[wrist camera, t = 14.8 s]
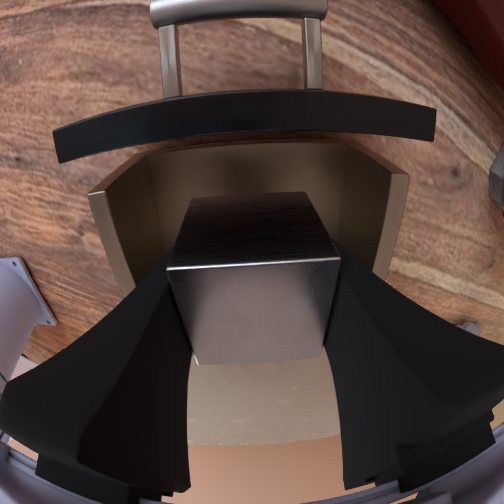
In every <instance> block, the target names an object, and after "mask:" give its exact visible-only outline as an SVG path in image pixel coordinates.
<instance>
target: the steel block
mask: <svg viewBox="0 0 504 504" xmlns="http://www.w3.org/2000/svg"><path fill="white" fill-rule="evenodd" d="M340 261H341V257H340V255H339V253H338V251H337V249H336V247H335V245H334V243H333V241H332V239H331V237H330V235H329V233H328V232H327V230H326V228H325V226H324V224H323V222H322V220H321V218H320V217H319V215H318V213H317V211H316V209H315V208H314V206H313V204H312V202H311V200H310V199H309V197H308V195H307V193H306V192H277V193H257V194H240V195H225V196H212V197H201V198H192V199H191V200H190V203H189V205H188V208H187V211H186V213H185V216H184V219H183V221H182V224H181V227H180V230H179V232H178V235H177V238H176V241H175V244H174V247H173V249H172V252H171V255H170V258H169V261H168V264H167V267H166V271H167V274H168V278H169V281H170V285H171V288H172V291H173V295H174V298H175V301H176V304H177V307H178V310H179V313H180V316H181V319H182V322H183V325H184V328H185V331H186V334H187V337H188V340H189V343H190V346H191V348H192V351H193V354H194V356H195V359H196V362H197V364H198V365H225V364H249V363H265V362H278V361H289V360H299V359H307V358H316V357H320V355H321V351H322V347H323V343H324V339H325V335H326V331H327V326H328V322H329V317H330V313H331V308H332V304H333V299H334V294H335V289H336V284H337V278H338V273H339V267H340Z"/></svg>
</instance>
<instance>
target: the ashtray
mask: <svg viewBox="0 0 504 504" xmlns="http://www.w3.org/2000/svg"><path fill="white" fill-rule="evenodd" d="M433 1H434V2H435V3H436V4H437V5H438V6H439V7H440V8H441V9H442V10H443V11H444V12H445V13H446V14H447V15H448V16H449V17H450V19H451V20H452V21H453V22H454V23H455V25H456V26H457V27H458V28H459V30H460V31H461V32H462V34H463V35H464V36H465V38H466V39H467V41H468V42H469V44H470V45H471V47H472V48H473V50H474V52H475V53H476V55H477V57H478V58H479V60H480V62H481V63H482V64H483V66H484V67H485V69H486V70H487V72H488V73H489V74H490V75H491V76H492V78H493V79H494V80H495V81H496V82H497V83H498V85H499V86H500V87H502V88H503V89H504V0H433Z"/></svg>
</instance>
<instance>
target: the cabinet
mask: <svg viewBox="0 0 504 504" xmlns="http://www.w3.org/2000/svg"><path fill="white" fill-rule="evenodd" d="M339 432H340V421H339V414H338V406H337V399H336V393H335V387H334V381H333V376H332V371H331V367H330V363H329V360H328V357H327V354H326V350H325V347H324V344H323V347H322V351H321V355H320V357H316V358H307V359H299V360H289V361H278V362H265V363H249V364H225V365H198V364H197V362H196V359H195V356H194V354H193V353H192V359H191V365H190V371H189V380H188V399H187V440H188V444H189V445H202V446H250V445H267V444H279V443H289V442H298V441H305V440H312V439H319V438H324V437H330V436H335V435H338V433H339Z"/></svg>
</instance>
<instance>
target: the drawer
mask: <svg viewBox="0 0 504 504" xmlns="http://www.w3.org/2000/svg"><path fill="white" fill-rule="evenodd" d="M327 11H328V0H151V2H150V6H149V14H150V20H151V23H152V25H153V27H154V28H155V29H156V30H159V47H160V62H161V74H162V86H163V96H164V99H161V100H155V101H150V102H145V103H141V104H136V105H132V106H127V107H123V108H119V109H116V110H112V111H109V112H105V113H102V114H98V115H95V116H92V117H89V118H86V119H83V120H80V121H77V122H74V123H71V124H69V125H66V126H63V127H61V128H58V129H56V130H53V132H52V133H53V138H54V143H55V148H56V153H57V157H58V161H59V163H60V164H61V163H65V162H68V161H72V160H75V159H79V158H83V157H87V156H91V155H95V154H99V153H103V152H107V151H112V150H116V149H121V148H126V147H131V146H136V145H142V144H147V143H153V142H159V141H166V140H173V139H180V138H188V137H196V136H205V135H216V134H227V133H242V132H261V131H330V132H349V133H363V134H375V135H384V136H393V137H401V138H409V139H415V140H422V141H428V142H433V141H434V134H435V124H436V113H437V110H436V109H435V108H431V107H427V106H423V105H419V104H415V103H410V102H406V101H401V100H396V99H391V98H386V97H380V96H374V95H367V94H360V93H351V92H342V91H330V90H323V64H322V39H321V21H323V20H324V19H325V17H326V15H327ZM240 18H291V19H303V20H302V21H301V28H302V48H303V75H304V89H246V90H230V91H218V92H209V93H200V94H192V95H185V96H183V92H182V80H181V67H180V53H179V37H178V27H177V26H179V25H185V24H191V23H198V22H206V21H214V20H225V19H240ZM409 179H410V175H409V174H408V173H406V172H405V171H403V170H402V169H400V168H399V167H397V166H396V165H394V164H393V163H391V162H390V161H388V160H386V159H385V158H383V157H382V156H380V155H378V154H377V153H375V152H373V151H372V150H370V149H368V148H367V147H365V146H363V145H362V144H360V143H358V142H356V141H354V140H334V139H265V140H245V141H230V142H217V143H207V144H197V145H189V146H181V147H173V148H166V149H159V150H153V151H147V152H141V153H136V154H135V155H134V156H132V157H131V158H130V159H128V160H127V161H126V162H125V163H123V164H122V165H121V166H120V167H118V168H117V169H116V170H115V171H113V172H112V173H111V174H110V175H109V176H107V177H106V178H105V179H104V180H103V181H101V182H100V183H99V184H98V185H97V186H96V187H95V188H93V189H92V190H91V191H90V192H89V193H88V194H87V197H88V200H89V203H90V207H91V210H92V213H93V217H94V220H95V223H96V226H97V229H98V232H99V235H100V238H101V241H102V243H103V246H104V249H105V252H106V254H107V257H108V260H109V262H110V265H111V267H112V270H113V272H114V275H115V277H116V280H117V282H118V284H119V287H120V289H121V291H122V294H123V296H124V298H125V297H126V296H127V295H128V294H129V293H130V292H131V291H132V290H133V289H134V288H135V287H136V286H137V285H138V284H139V283H140V282H141V281H142V280H143V279H144V278H145V276H146V275H147V274H148V273H149V272H150V271H151V270H152V269H153V268H154V267H155V265H156V264H157V263H158V262H159V261H160V260H161V259H162V258H163V257H164V256H165V254H166V253H167V252H168V251H169V250H170V249H171V248H172V247H174V244H175V241H176V238H177V235H178V232H179V230H180V227H181V224H182V221H183V219H184V216H185V213H186V211H187V208H188V205H189V203H190V200H191V199H192V198H201V197H212V196H225V195H240V194H257V193H277V192H306V193H307V195H308V197H309V199H310V200H311V202H312V204H313V206H314V208H315V209H316V211H317V213H318V215H319V217H320V218H321V220H322V222H323V224H324V226H325V228H326V230H327V232H328V233H329V235H330V237H331V238H332V239H333V240H334V241H336V242H337V243H338V244H339V245H341V246H342V247H343V248H344V249H345V250H347V251H348V252H349V253H350V254H351V255H353V256H354V257H355V258H356V259H357V260H358V261H360V262H361V263H362V264H363V265H365V266H366V267H367V268H368V269H369V270H371V271H372V272H373V273H374V274H376V275H377V276H378V277H380V278H381V279H382V280H384V281H385V279H386V276H387V273H388V269H389V266H390V262H391V259H392V255H393V252H394V248H395V244H396V240H397V236H398V232H399V228H400V224H401V219H402V215H403V210H404V205H405V200H406V195H407V190H408V184H409Z"/></svg>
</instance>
